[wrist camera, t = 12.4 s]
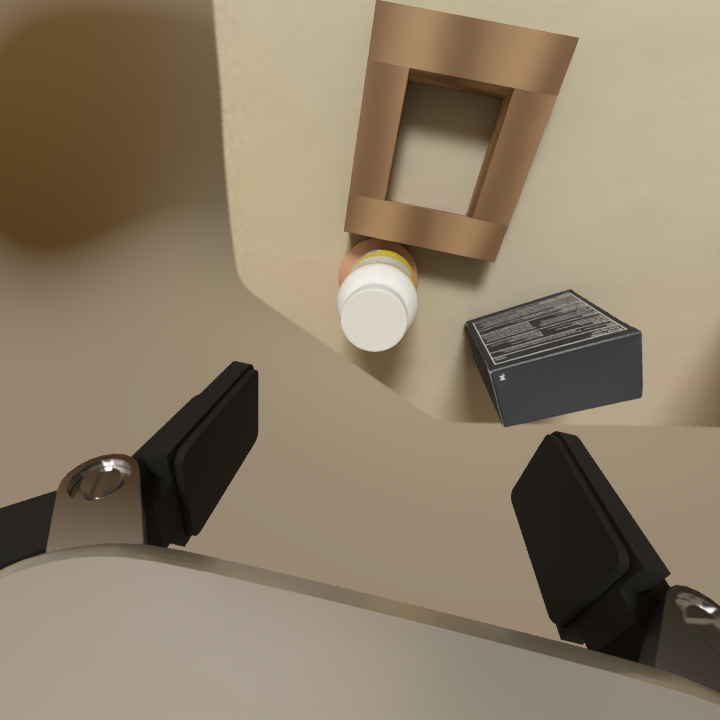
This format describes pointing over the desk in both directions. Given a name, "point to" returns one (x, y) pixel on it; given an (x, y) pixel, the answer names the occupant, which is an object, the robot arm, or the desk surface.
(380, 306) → the pill bottle
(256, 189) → the desk surface
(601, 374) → the small box
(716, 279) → the desk surface
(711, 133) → the desk surface
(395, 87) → the pocket holder
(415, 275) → the coaster
